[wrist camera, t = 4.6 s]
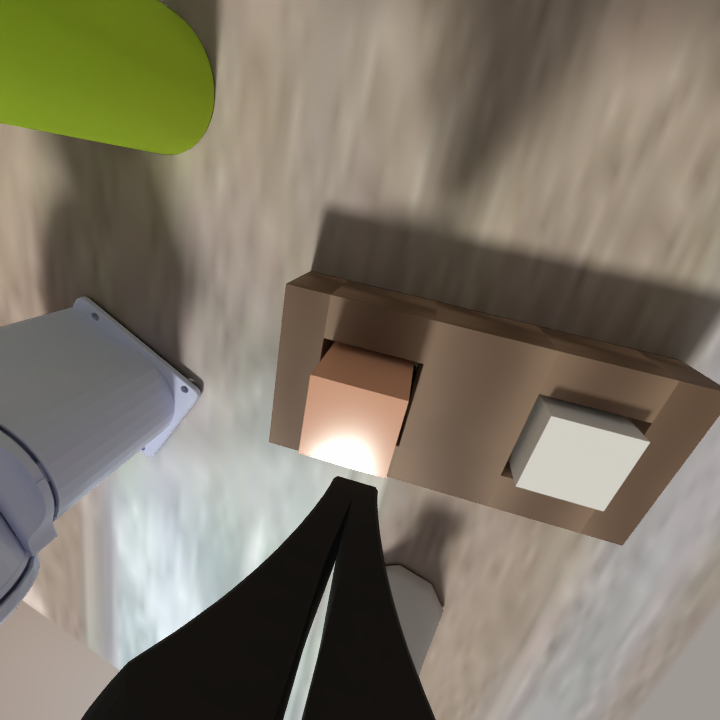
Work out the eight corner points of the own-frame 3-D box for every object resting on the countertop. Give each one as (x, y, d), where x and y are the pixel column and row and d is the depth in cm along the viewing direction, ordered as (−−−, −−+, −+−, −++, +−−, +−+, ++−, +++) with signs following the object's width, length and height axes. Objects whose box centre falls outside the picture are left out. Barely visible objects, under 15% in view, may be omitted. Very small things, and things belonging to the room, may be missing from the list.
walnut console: (291, 409, 23) (269, 442, 20) (310, 271, 19) (286, 283, 16) (594, 495, 21) (622, 545, 18) (680, 360, 17) (735, 394, 14)
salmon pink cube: (326, 403, 20) (298, 453, 16) (338, 337, 18) (310, 374, 14) (396, 422, 20) (385, 478, 16) (414, 357, 18) (408, 401, 14)
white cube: (500, 431, 21) (515, 486, 17) (526, 371, 19) (551, 416, 15) (570, 450, 20) (603, 511, 16) (603, 391, 19) (650, 442, 15)
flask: (330, 579, 29) (283, 748, 20) (402, 549, 26) (385, 730, 17) (386, 633, 30) (365, 815, 21) (459, 610, 27) (472, 808, 18)
